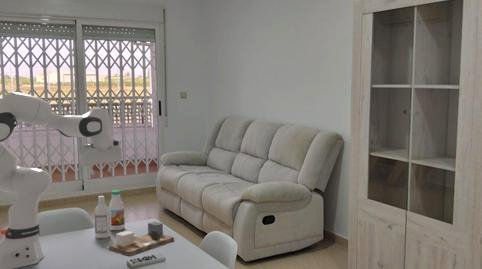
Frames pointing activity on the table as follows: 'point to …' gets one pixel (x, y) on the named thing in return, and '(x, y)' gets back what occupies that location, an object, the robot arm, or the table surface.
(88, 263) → the table surface
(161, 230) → the dark grey cube
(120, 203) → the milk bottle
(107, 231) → the bath foam
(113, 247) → the wooden tray
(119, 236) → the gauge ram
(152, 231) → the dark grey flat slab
